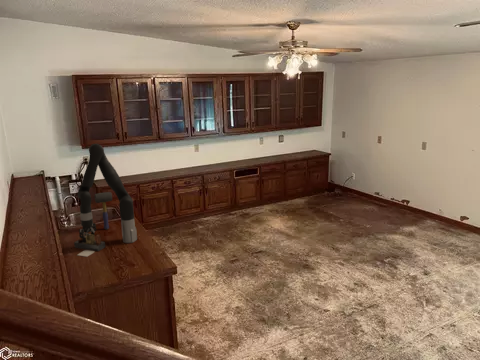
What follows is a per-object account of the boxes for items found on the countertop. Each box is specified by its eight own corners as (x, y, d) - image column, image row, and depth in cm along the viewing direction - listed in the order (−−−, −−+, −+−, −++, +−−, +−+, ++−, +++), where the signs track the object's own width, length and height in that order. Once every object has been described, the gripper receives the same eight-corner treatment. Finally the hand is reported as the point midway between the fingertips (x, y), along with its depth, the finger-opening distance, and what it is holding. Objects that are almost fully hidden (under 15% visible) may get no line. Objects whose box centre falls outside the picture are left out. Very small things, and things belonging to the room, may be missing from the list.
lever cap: (94, 241, 258) (94, 233, 256) (90, 243, 254) (89, 235, 252) (88, 240, 260) (87, 232, 258) (83, 242, 255) (83, 234, 254)
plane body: (105, 247, 258) (103, 233, 256) (98, 251, 252) (97, 237, 249) (81, 243, 264) (80, 230, 261) (74, 247, 257) (73, 234, 255)
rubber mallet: (98, 232, 284) (94, 195, 277) (97, 228, 291) (93, 192, 283) (115, 229, 290) (112, 192, 282) (114, 226, 296) (110, 190, 288)
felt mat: (94, 251, 251) (94, 251, 251) (87, 256, 243) (86, 256, 243) (85, 250, 253) (85, 249, 253) (77, 255, 246) (76, 254, 246)
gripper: (83, 222, 245) (86, 244, 249) (98, 215, 258) (100, 236, 262) (74, 221, 247) (77, 243, 251) (89, 214, 260) (91, 235, 264)
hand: (88, 240), depth 256 cm, fingers open, 8 cm apart
